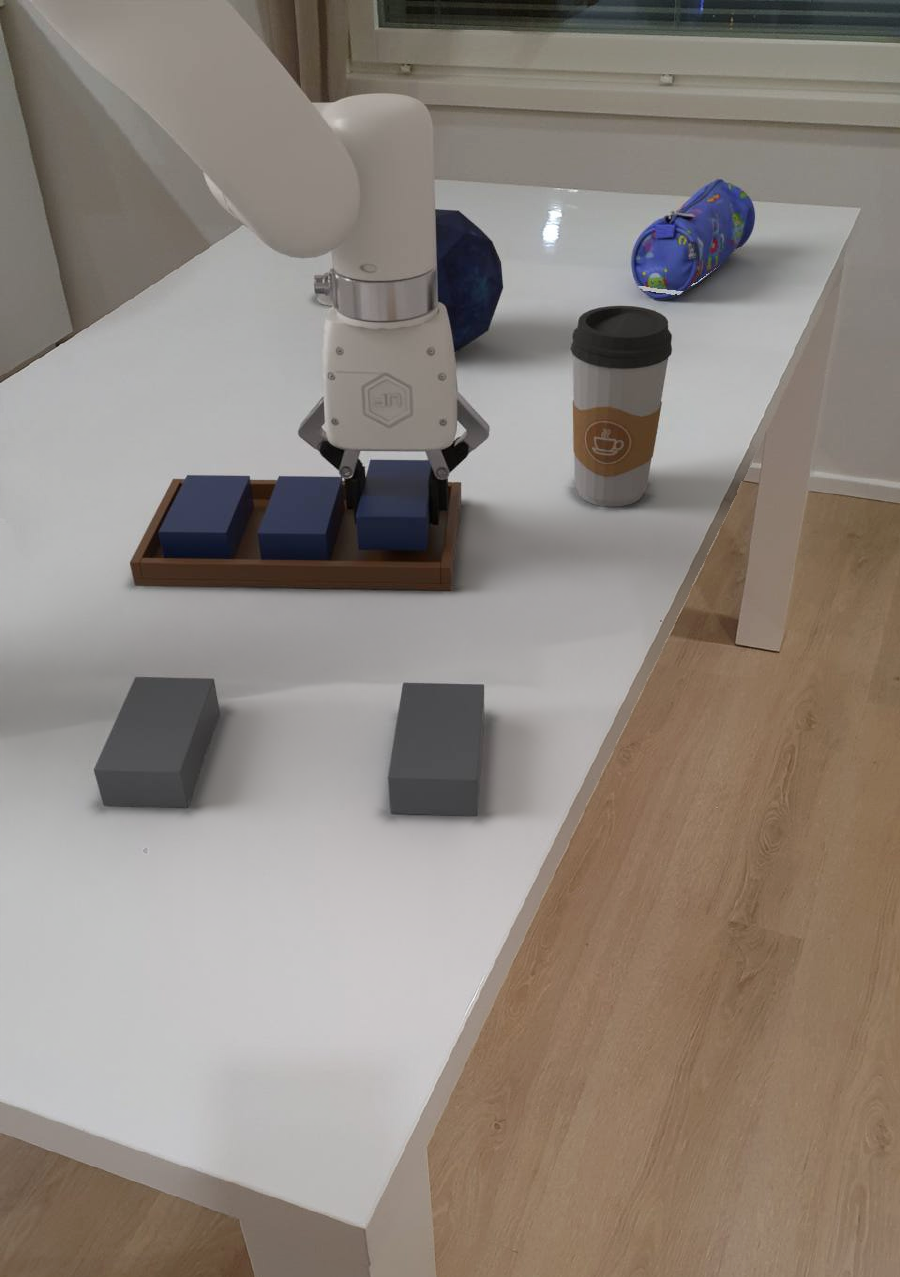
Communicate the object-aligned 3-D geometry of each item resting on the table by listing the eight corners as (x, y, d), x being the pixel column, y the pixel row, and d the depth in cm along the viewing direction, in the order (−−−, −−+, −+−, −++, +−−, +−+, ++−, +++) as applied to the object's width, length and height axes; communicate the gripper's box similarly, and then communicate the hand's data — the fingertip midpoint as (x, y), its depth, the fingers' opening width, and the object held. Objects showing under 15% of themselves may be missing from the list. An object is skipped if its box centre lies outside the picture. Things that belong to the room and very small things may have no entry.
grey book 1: (103, 805, 77) (93, 769, 75) (143, 711, 84) (134, 676, 82) (188, 808, 76) (180, 772, 74) (220, 713, 84) (214, 678, 82)
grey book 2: (390, 814, 76) (387, 777, 74) (404, 717, 83) (402, 682, 81) (477, 816, 75) (477, 779, 73) (484, 719, 83) (484, 683, 81)
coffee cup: (553, 506, 106) (560, 334, 96) (576, 465, 112) (585, 299, 102) (647, 519, 104) (664, 345, 94) (665, 476, 110) (683, 308, 100)
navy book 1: (165, 564, 98) (158, 531, 96) (192, 506, 106) (186, 474, 104) (231, 565, 98) (226, 532, 96) (254, 507, 105) (249, 475, 103)
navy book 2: (261, 566, 98) (257, 533, 96) (282, 507, 105) (278, 475, 103) (328, 567, 97) (325, 534, 96) (344, 508, 105) (342, 476, 103)
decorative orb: (505, 267, 138) (425, 159, 129) (547, 311, 127) (463, 197, 118) (412, 354, 142) (328, 255, 132) (445, 403, 131) (355, 300, 121)
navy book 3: (358, 550, 96) (355, 516, 94) (372, 492, 104) (370, 459, 102) (426, 551, 96) (425, 517, 94) (435, 492, 103) (434, 459, 101)
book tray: (134, 585, 97) (129, 562, 96) (176, 500, 108) (172, 478, 107) (451, 590, 96) (450, 567, 94) (461, 503, 106) (461, 481, 105)
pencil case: (689, 309, 142) (699, 223, 135) (622, 298, 145) (628, 213, 139) (752, 256, 156) (764, 175, 150) (690, 247, 159) (698, 167, 153)
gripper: (260, 309, 85) (288, 538, 97) (502, 310, 84) (500, 540, 96) (278, 274, 91) (302, 494, 103) (505, 274, 90) (503, 496, 102)
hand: (398, 514), depth 100 cm, fingers closed on navy book 3, 5 cm apart
